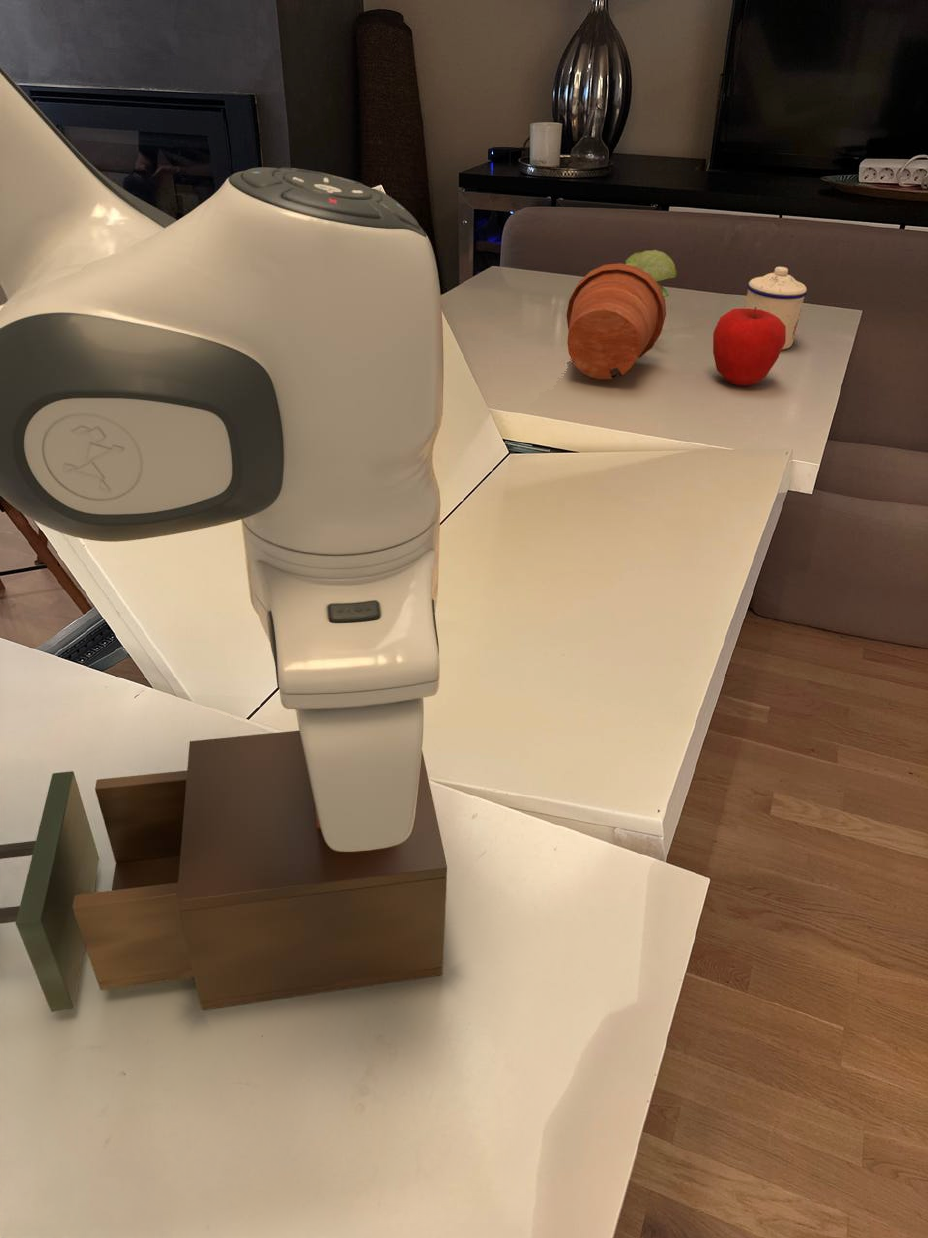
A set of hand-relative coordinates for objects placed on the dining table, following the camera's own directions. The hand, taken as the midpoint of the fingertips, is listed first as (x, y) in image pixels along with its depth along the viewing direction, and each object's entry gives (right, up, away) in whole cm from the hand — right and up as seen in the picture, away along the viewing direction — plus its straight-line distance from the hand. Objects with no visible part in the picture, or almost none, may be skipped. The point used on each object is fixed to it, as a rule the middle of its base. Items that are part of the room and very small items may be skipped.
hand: (353, 772), depth 50 cm
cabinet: (-3, -9, +6) cm, 12 cm away
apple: (+46, +43, +83) cm, 104 cm away
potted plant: (+29, +50, +92) cm, 109 cm away
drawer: (-13, -9, +4) cm, 17 cm away
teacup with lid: (+55, +54, +99) cm, 126 cm away
